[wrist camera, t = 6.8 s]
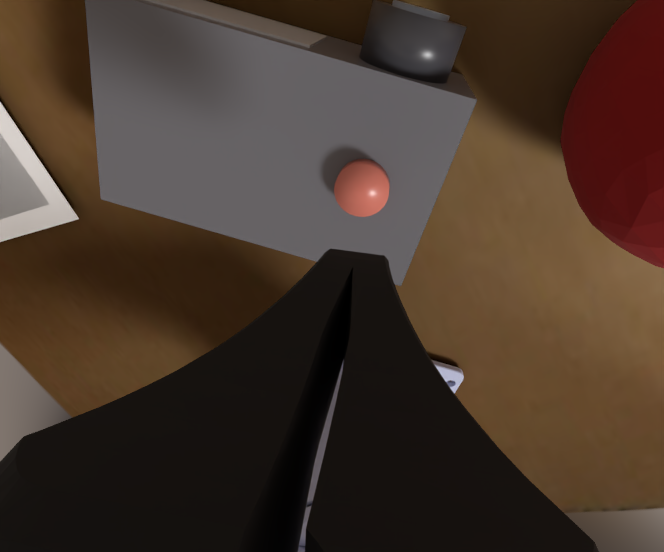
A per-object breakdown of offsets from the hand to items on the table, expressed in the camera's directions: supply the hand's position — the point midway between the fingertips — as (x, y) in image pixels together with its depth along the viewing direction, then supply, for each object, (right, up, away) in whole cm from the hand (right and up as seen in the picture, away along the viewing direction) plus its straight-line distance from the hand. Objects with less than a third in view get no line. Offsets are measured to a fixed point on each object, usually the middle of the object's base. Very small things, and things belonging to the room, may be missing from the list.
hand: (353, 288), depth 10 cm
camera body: (-2, +7, +8) cm, 11 cm away
